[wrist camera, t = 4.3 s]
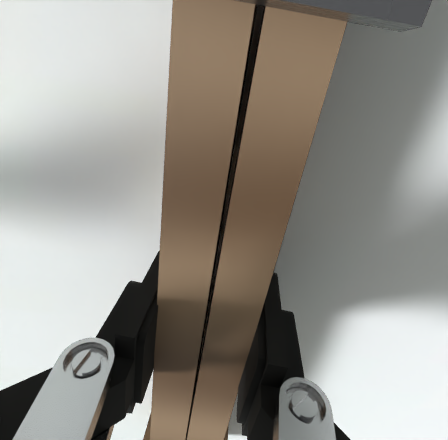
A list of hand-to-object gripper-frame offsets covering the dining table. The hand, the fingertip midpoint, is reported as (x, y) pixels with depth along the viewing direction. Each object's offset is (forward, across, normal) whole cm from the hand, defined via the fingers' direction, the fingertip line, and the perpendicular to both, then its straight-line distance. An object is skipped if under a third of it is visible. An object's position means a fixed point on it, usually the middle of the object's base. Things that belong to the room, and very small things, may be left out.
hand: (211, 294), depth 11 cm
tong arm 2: (+1, +1, +1) cm, 2 cm away
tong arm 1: (+1, -1, +1) cm, 2 cm away
